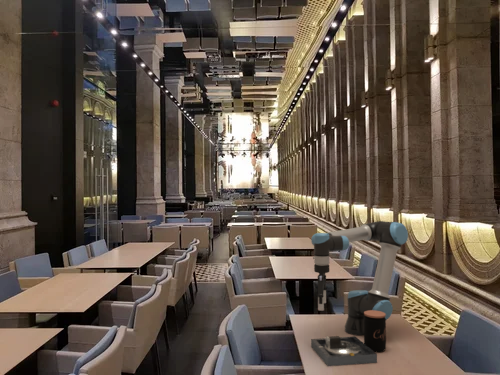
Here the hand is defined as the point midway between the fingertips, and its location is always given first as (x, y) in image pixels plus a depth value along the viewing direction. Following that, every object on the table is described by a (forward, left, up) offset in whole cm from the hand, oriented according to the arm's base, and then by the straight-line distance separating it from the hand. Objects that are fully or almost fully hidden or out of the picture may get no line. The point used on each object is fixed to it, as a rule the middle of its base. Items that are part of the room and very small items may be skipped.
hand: (322, 306), depth 205 cm
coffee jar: (-27, +2, -22) cm, 35 cm away
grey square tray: (-8, +6, -22) cm, 24 cm away
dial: (-8, +6, -20) cm, 22 cm away
